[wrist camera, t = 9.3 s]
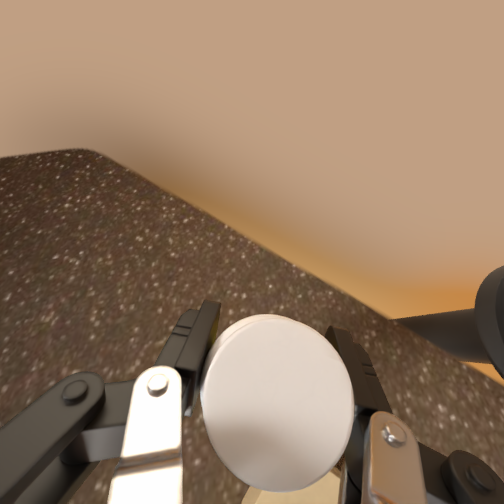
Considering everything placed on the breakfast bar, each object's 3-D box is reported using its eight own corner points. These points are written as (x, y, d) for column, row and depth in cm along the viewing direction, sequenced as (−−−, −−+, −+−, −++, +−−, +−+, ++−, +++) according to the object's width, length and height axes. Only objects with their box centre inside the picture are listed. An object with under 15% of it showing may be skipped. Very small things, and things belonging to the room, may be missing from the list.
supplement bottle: (304, 336, 15) (381, 330, 7) (288, 426, 13) (363, 548, 5) (228, 314, 15) (219, 284, 7) (202, 400, 14) (155, 483, 6)
